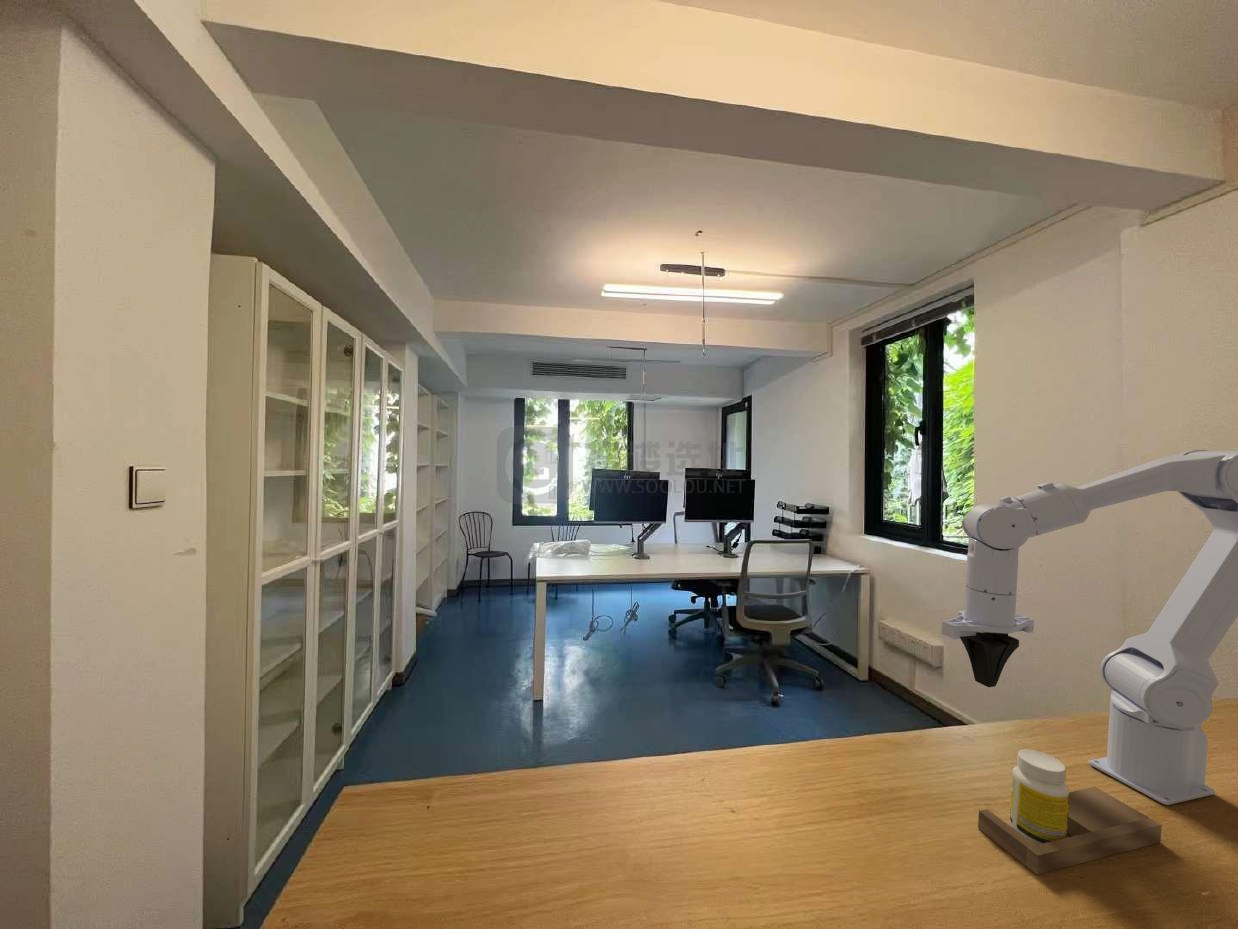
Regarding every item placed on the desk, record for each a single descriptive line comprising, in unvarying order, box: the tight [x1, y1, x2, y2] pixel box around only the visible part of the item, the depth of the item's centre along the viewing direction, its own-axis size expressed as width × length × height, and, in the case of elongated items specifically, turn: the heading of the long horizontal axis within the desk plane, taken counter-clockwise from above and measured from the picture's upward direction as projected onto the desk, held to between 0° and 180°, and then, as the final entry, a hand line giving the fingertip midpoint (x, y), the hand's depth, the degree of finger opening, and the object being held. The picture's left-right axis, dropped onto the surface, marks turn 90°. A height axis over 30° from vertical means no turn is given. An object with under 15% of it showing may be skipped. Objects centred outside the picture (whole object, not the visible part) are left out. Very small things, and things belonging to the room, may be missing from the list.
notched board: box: [977, 786, 1163, 876], centre depth 53 cm, size 18×6×2 cm, turn 105°
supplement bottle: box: [1009, 748, 1070, 845], centre depth 53 cm, size 5×5×8 cm
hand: (985, 683), depth 68 cm, fingers closed
